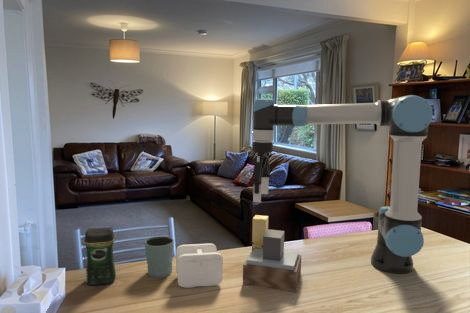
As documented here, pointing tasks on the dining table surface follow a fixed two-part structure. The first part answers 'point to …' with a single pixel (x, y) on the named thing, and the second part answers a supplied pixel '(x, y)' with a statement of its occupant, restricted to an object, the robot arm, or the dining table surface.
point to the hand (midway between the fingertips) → (260, 197)
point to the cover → (273, 252)
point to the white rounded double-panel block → (198, 265)
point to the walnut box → (272, 276)
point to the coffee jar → (100, 256)
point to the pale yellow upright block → (259, 230)
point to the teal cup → (159, 256)
